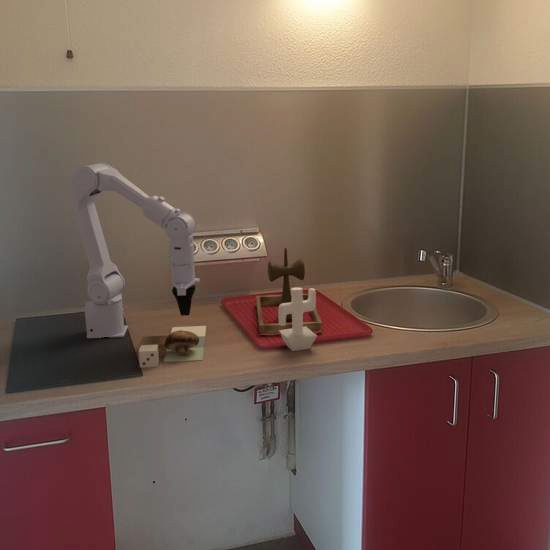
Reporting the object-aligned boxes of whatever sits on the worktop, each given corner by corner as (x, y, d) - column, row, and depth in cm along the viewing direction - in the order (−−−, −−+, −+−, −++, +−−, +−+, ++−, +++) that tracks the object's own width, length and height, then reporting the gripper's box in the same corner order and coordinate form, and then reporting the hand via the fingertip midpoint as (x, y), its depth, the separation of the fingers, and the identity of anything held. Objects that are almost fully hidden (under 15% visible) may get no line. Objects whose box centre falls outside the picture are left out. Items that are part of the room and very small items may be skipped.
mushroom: (188, 349, 159) (184, 323, 161) (160, 358, 162) (157, 333, 164) (206, 354, 166) (203, 329, 168) (179, 363, 168) (176, 339, 171)
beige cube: (142, 361, 162) (139, 367, 158) (140, 345, 161) (138, 351, 157) (159, 360, 162) (157, 367, 158) (157, 344, 161) (156, 350, 157)
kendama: (306, 320, 187) (305, 248, 182) (271, 323, 186) (269, 251, 180) (301, 313, 193) (300, 244, 188) (268, 316, 191) (266, 246, 186)
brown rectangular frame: (259, 335, 176) (259, 325, 176) (256, 305, 201) (256, 296, 201) (321, 333, 177) (321, 322, 176) (310, 302, 202) (310, 293, 201)
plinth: (140, 356, 164) (139, 345, 163) (143, 347, 170) (142, 336, 169) (165, 355, 165) (164, 344, 164) (167, 346, 170) (166, 335, 170)
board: (163, 362, 161) (163, 361, 161) (172, 327, 184) (172, 327, 184) (202, 360, 161) (202, 359, 161) (206, 326, 184) (206, 325, 184)
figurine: (274, 344, 170) (273, 286, 166) (310, 339, 173) (309, 282, 169) (284, 355, 163) (283, 294, 159) (321, 349, 166) (321, 289, 162)
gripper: (197, 269, 164) (199, 323, 167) (200, 255, 178) (202, 305, 181) (167, 270, 164) (170, 324, 167) (172, 256, 178) (175, 306, 181)
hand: (185, 314), depth 174 cm, fingers closed
